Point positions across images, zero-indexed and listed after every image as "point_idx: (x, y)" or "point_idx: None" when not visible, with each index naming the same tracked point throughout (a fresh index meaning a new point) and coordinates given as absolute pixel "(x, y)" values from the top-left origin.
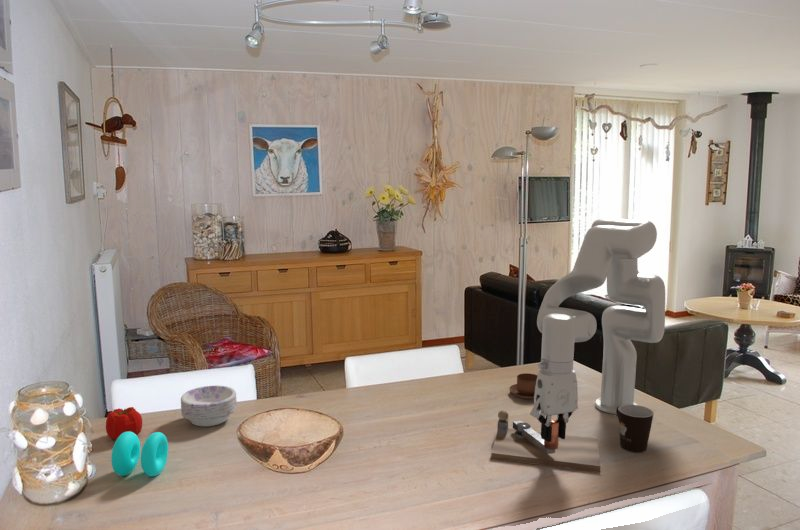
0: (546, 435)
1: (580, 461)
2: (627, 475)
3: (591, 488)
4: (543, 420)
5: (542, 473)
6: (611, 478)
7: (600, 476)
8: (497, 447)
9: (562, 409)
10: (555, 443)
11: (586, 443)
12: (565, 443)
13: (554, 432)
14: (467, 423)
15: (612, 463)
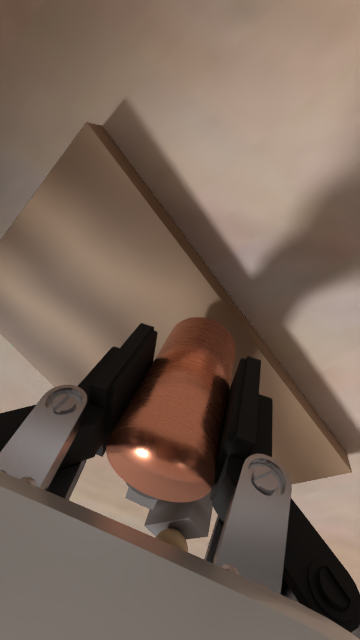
0: (259, 401)
1: (132, 219)
2: (13, 9)
3: (275, 7)
4: (303, 544)
5: (315, 283)
6: (99, 36)
7: (130, 92)
8: (295, 472)
9: (65, 614)
10: (205, 336)
11: (14, 297)
12: (78, 343)
13: (200, 385)
14: (205, 547)
15: (8, 152)
